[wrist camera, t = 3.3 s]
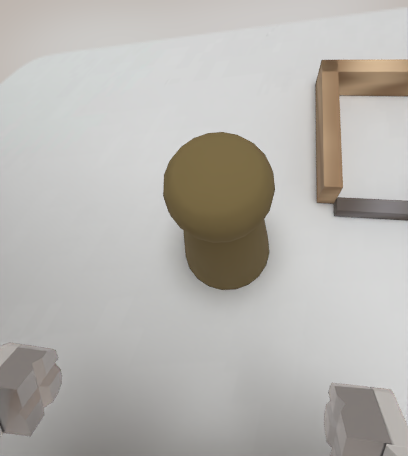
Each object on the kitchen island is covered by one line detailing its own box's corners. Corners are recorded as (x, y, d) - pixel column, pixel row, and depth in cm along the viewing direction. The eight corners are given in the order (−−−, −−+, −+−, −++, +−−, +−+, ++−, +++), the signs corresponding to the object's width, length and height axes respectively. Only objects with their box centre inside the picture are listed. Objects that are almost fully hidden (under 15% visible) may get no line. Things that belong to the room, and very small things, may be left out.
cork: (192, 206, 26) (159, 107, 16) (272, 213, 25) (292, 113, 15) (179, 284, 24) (132, 227, 14) (266, 295, 23) (284, 242, 13)
